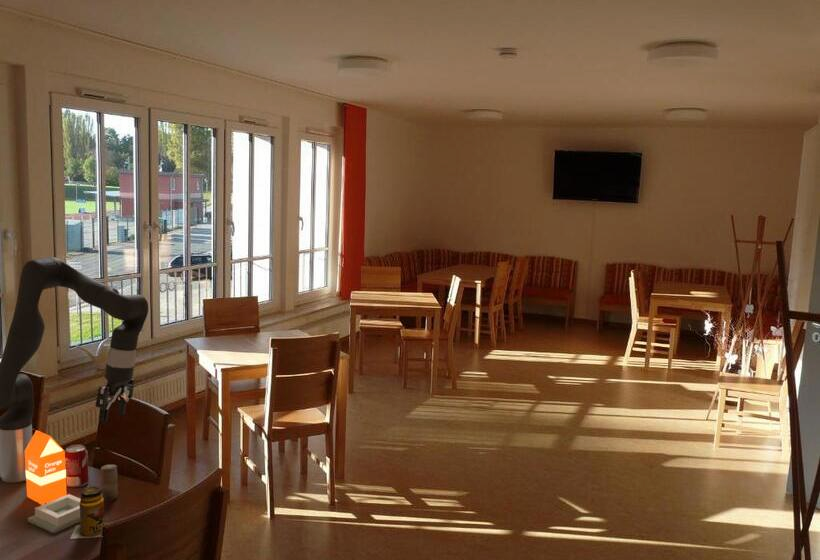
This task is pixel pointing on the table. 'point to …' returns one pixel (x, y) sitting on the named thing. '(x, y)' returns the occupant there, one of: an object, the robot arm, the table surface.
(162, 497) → the table surface
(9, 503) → the table surface
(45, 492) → the orange juice
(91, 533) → the condiment
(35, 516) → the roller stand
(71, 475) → the soda can
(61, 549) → the table surface
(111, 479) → the roller
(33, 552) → the table surface
